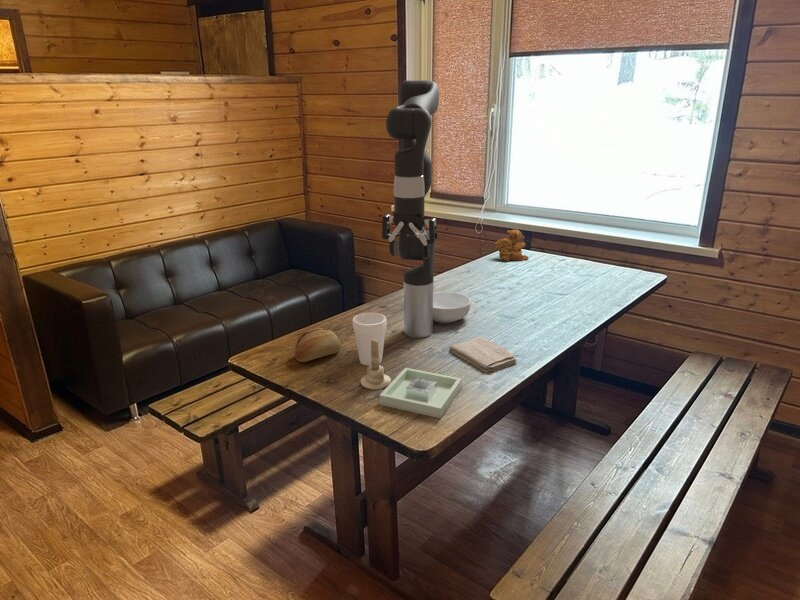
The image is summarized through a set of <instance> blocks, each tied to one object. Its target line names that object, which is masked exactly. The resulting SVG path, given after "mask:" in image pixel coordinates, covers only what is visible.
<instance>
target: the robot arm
mask: <svg viewBox="0 0 800 600" xmlns="http://www.w3.org/2000/svg"><path fill="white" fill-rule="evenodd" d="M439 90H440V89H439V87H438V84H437V83H436V82H435V81H432V80H429V79H428V80H427V79H426V80H421V79H419V80H403V81H402V82H401V83H400V86H399V95H398V96H399V97H398V99H399V100H398V101H399V102H398V103H399V105H397V106H395V107H393V108H392V109H390V111H389V112H388V114H387V116H386V120H385V121H386V122H385V127H386V132H387V134H388V135H389V136H390V137H391V138H392V139H394V140H400V150H397V151H396V152H395V153H394V182H393V205H394V206H393V210H394V212H393V213H394V215H391V214H390V213H388V214H385V215H383V216H382V222H381V223H382V224H381V229H382V230H381V238H382V239H383V240H387V241H388V242H389V245H388V246H389V253H390V254H391V255H390V256H391V257H396V256H397V255H399V258H400V259H401V260H404V261H405V260H406V261H421V262H422V263H421V264H419V265H417V266H414V267H412V268H409V269H406V271H404V273H403V332H404V333H403V334H405V336H408V337H411V338H418V339H419V338H426V337H429V336H431V335H432V334H433V332H434V320H433V292H434V273H435V271H434V270H435V269H434V267H435V266H434V263H435V247H436V242H438V222H437V221H438V220H437V218H435V217H433V218H431V219H430V218H426V216H425V198H426V196H427V194H428V193H429V190H430V189H431V186H432V168H433V167H432V165H433V164H432V160H431V158H430V155H429V154H428V152H427V150H426V146H427V142H428V138H429V135H430V133H431V132H430V131H431V127H432V116H433V115H435V113H436V112H437V111H438V107H439V103H440V101H439V100H440V91H439ZM392 223H393V224H394V225H395V226H396V227H395V228H394V230H393V231H392V233H391V225H392ZM425 225H426V226H427V227H426V228H428V229H425V228H424V226H425ZM397 238H398V240H397Z"/></svg>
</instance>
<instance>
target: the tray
mask: <svg viewBox="0 0 800 600" xmlns="http://www.w3.org/2000/svg"><path fill="white" fill-rule="evenodd" d="M414 378H419V379H424V380H429V381H434V382H437V391H436V392H435V394H434V395H433V396H432V398H431V399H430V400H429V401H428V402H426V401H422V400H417V399H412V398H408V397H406V388H407V386H408V385H409V384H410V383H411V382H412V381H413V380H414ZM462 388H463V378H460V377H455V376H451V375H450V376H449V375H446V374H441V373H435V372H429V371H425V370H420V369H415V368H409V367H405V368H404V369H402V371H400V373H399V374H397V376H396V377H395V378H394V379H393V380H391V383H390V385H389V386H388V387H386V388H384V390H383V391H382V392H381V393H380V394H379V405H380V406H384V407H388V408H392V409H397V410H398V409H399V410H402V411H406V412H411V413H416V414H418V415H423V416H429V417H433V418H437V419H441V418H442V417H443V416H444V414H445V413H446V411H447V410H448V408H449V407H450V405H451V404H452V403H453V402H454V400H455V398H456V397H457V396H458V395H459V393H460V391H461V390H462Z"/></svg>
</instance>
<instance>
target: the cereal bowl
mask: <svg viewBox="0 0 800 600" xmlns="http://www.w3.org/2000/svg"><path fill="white" fill-rule="evenodd" d="M471 302H472V301H471V299H470V298H469V296H467V295H465V294H463V293H458V292H454V291H433V322H437V323H440V324H451V323H454V322H456V321H459V320H462V319H464V318H465V317H466V316H467V315H468V313H469V312H470V309H471Z"/></svg>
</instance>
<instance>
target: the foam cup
mask: <svg viewBox="0 0 800 600" xmlns="http://www.w3.org/2000/svg"><path fill="white" fill-rule="evenodd" d="M387 321H388V320H387V317H386V316H385V315H384V314H383V313H380V312H363V313H358V314H356V315H354V316H353V318H352V328H353V331H354V336H355V343H356V347H357V353H358V360H359V363H360V364H362V365H363V366H368V367H369V366H372V362H371V340H378V341H379V364H381V363H382V361H383V354H384V344H385V337H386V330H387V325H388V324H387Z"/></svg>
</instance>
